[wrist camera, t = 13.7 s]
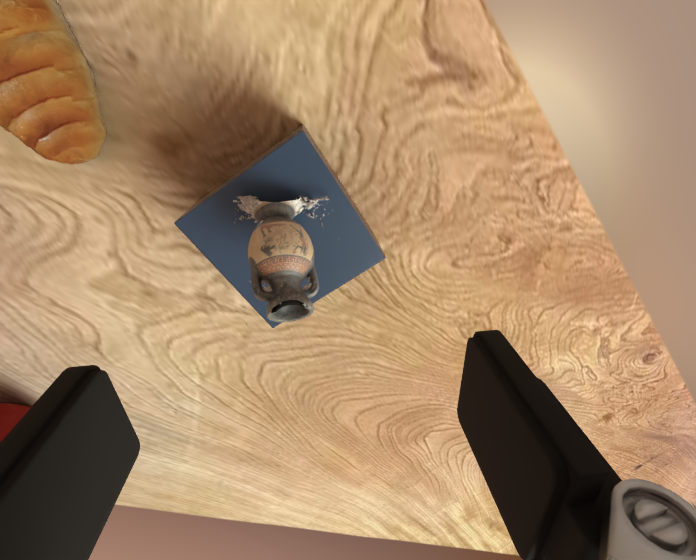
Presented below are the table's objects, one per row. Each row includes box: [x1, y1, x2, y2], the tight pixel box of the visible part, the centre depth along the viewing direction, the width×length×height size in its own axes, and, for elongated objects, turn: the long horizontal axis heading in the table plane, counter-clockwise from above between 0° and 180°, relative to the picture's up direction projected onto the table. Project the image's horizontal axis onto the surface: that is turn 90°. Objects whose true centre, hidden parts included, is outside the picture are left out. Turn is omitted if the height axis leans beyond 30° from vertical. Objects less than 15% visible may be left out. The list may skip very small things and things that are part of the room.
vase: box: [233, 195, 339, 327], centre depth 19 cm, size 5×5×6 cm
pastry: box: [0, 0, 107, 164], centre depth 19 cm, size 9×7×4 cm
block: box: [175, 125, 386, 328], centre depth 24 cm, size 9×9×5 cm
